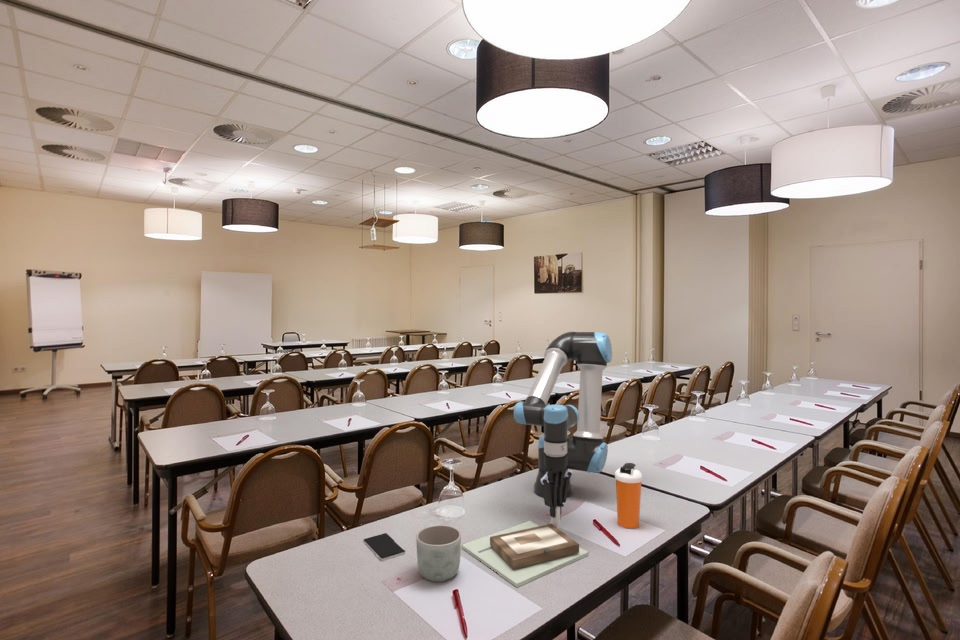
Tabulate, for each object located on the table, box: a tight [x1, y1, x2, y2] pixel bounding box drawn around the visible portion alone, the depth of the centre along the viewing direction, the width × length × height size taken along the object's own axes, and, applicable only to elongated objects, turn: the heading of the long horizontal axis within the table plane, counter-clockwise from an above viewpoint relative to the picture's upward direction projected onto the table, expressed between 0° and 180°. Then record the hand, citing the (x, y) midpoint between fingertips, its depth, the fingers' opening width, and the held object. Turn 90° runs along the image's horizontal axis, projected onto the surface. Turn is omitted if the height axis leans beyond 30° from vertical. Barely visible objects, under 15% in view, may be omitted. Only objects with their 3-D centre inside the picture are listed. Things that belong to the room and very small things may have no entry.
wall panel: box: [461, 520, 589, 588], centre depth 146 cm, size 26×28×1 cm
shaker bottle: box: [614, 462, 643, 529], centre depth 164 cm, size 9×9×20 cm
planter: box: [415, 524, 462, 583], centre depth 134 cm, size 12×12×11 cm
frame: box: [490, 523, 580, 569], centre depth 144 cm, size 16×22×3 cm
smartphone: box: [363, 532, 406, 562], centre depth 149 cm, size 8×1×15 cm
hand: (555, 525), depth 156 cm, fingers closed
